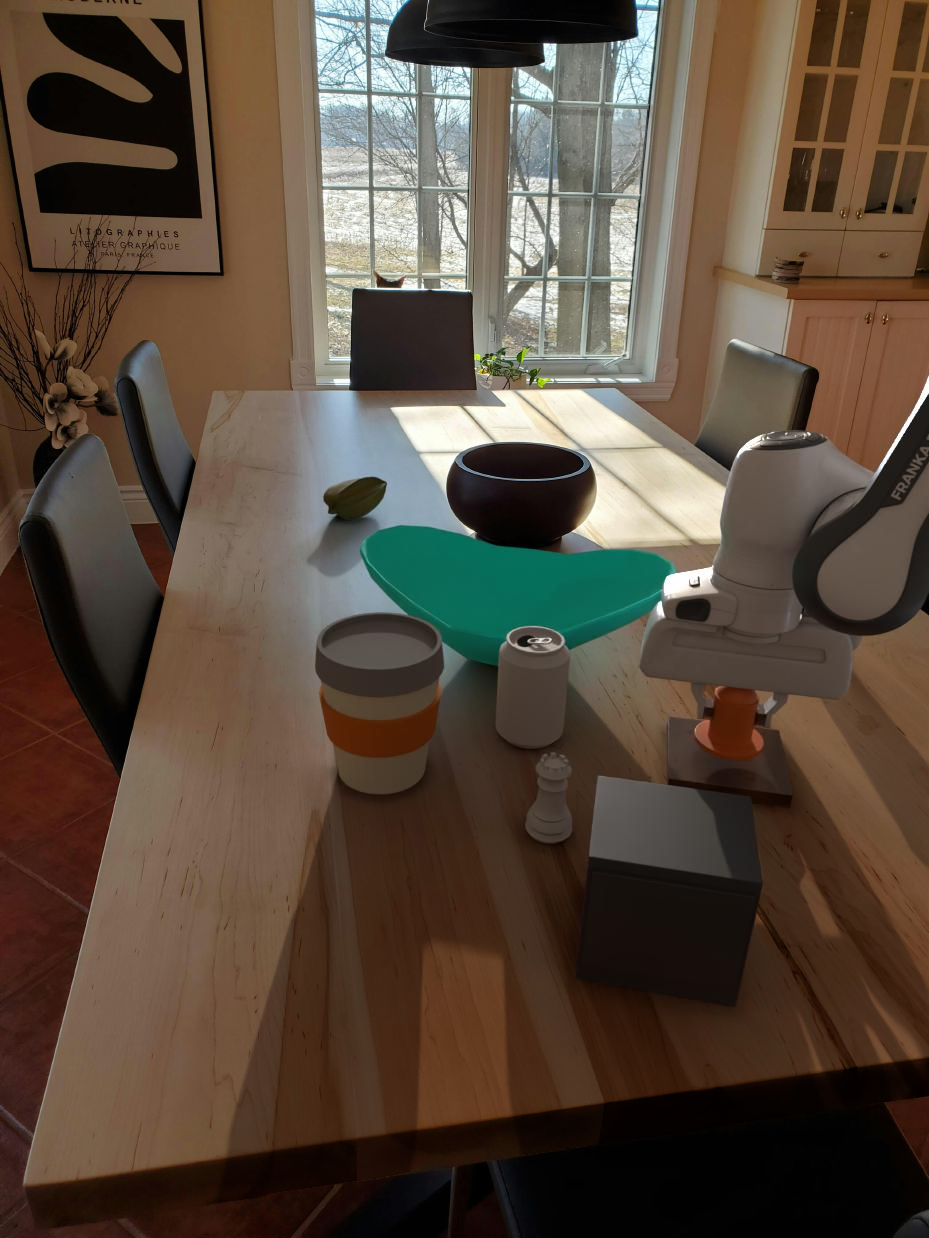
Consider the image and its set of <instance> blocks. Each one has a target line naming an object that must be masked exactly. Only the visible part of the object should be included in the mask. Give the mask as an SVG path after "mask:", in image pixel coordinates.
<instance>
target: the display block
mask: <svg viewBox="0 0 929 1238" xmlns="http://www.w3.org/2000/svg"><path fill="white" fill-rule="evenodd" d="M593 805H594V806H593V814H592V824H591V832H590V841H589V848H588V857H587V867H586V877H585V885H584V886H585V887H584V894H583V902H582V912H581V921H580V930H579V938H578V948H577V956H576V965H575V974H574V975H575V976H574V978H575V979H576V980H582V981H586V982H587V981H589V982H592V983H593V982H594V983H598V984H603V985H604V984H605V985H610V986H615V987H616V986H617V987H622V988H626V989H633V990H638V991H645V992H650V993H655V994H662V995H668V996H673V997H677V998H678V997H679V998H684V999H691V1000H695V1001H701V1002H706V1003H713V1004H719V1005H724V1006H730V1007H736V1006H737V1002H738V998H739V993H740V989H741V986H742V985H741V984H742V979H743V975H744V971H745V966H746V962H747V958H748V953H749V948H750V946H751V945H750V944H751V940H752V936H753V931H754V927H755V922H756V917H757V913H758V909H759V904H760V900H761V896H762V892H763V886H764V879H763V871H762V864H761V858H760V857H761V856H760V851H759V843H758V836H757V831H756V829H757V828H756V823H755V815H754V808H753V802H752V800H751V797H749V796H742V795H735V794H727V793H720V792H713V791H706V790H699V789H691V788H684V787H677V786H670V785H667V784H661V783H655V782H648V781H641V780H634V779H625V778H619V777H611V776H604V775H597V778H596V788H595V797H594V804H593Z"/></svg>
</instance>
